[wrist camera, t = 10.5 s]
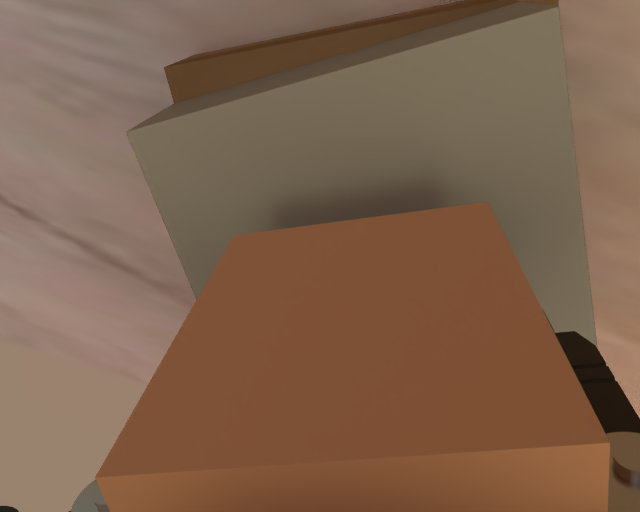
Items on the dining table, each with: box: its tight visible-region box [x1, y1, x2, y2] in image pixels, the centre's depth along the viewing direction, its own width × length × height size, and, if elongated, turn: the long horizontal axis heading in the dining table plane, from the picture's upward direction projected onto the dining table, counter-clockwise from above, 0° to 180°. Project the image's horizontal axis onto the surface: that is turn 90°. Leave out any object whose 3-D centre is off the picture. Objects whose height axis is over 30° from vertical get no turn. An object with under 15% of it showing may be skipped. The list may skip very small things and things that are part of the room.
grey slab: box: [126, 2, 597, 347], centre depth 18 cm, size 11×11×4 cm
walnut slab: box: [164, 0, 558, 104], centre depth 22 cm, size 12×12×4 cm
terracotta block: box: [95, 202, 610, 512], centre depth 10 cm, size 6×6×7 cm
